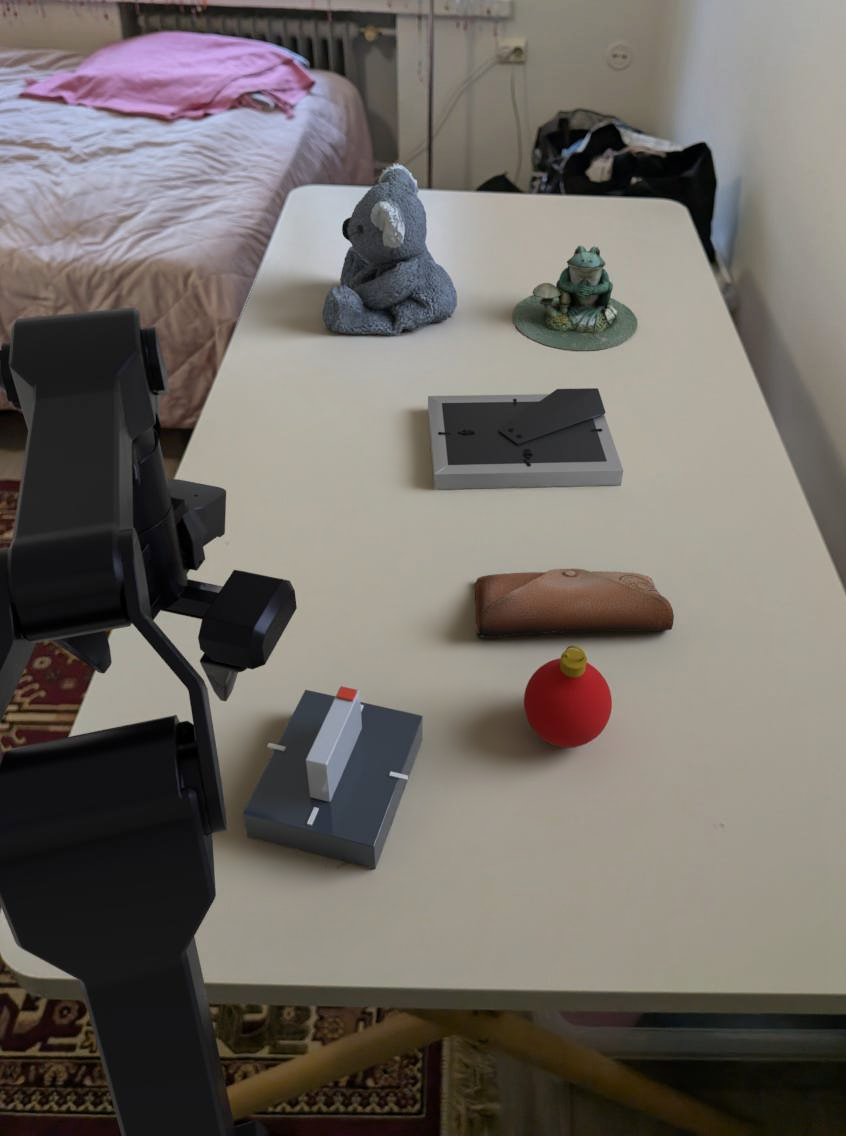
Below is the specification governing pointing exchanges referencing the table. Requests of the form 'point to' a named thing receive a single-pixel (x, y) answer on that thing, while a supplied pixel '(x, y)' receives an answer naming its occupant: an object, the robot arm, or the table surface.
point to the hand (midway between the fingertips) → (165, 682)
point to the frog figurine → (576, 308)
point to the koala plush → (389, 265)
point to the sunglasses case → (568, 603)
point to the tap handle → (334, 744)
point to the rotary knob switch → (362, 793)
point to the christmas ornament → (568, 700)
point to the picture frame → (522, 441)
